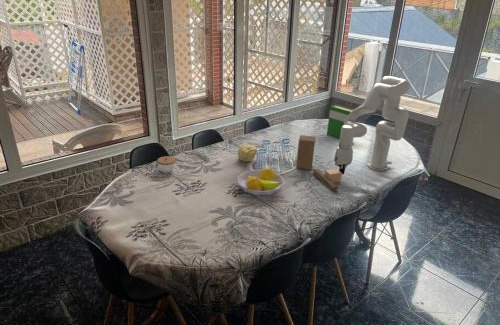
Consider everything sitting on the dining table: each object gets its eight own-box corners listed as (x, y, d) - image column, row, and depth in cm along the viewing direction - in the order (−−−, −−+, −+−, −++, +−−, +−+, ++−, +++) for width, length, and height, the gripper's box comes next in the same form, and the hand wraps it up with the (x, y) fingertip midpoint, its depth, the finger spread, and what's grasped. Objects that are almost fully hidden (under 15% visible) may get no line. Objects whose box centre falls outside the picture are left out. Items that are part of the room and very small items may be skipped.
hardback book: (350, 139, 288) (355, 109, 278) (345, 141, 284) (349, 111, 274) (332, 133, 300) (336, 104, 290) (326, 134, 295) (330, 106, 285)
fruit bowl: (230, 182, 215) (230, 165, 210) (271, 175, 225) (272, 159, 220) (248, 206, 192) (249, 187, 187) (293, 197, 202) (295, 179, 197)
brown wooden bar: (318, 173, 231) (318, 168, 230) (337, 191, 211) (338, 186, 209) (313, 173, 230) (314, 169, 229) (332, 191, 210) (333, 187, 208)
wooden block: (311, 170, 234) (314, 141, 226) (295, 168, 236) (298, 139, 227) (312, 164, 243) (315, 136, 235) (297, 162, 245) (300, 134, 236)
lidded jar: (179, 171, 226) (178, 157, 222) (164, 176, 218) (163, 162, 214) (169, 165, 232) (168, 152, 228) (154, 170, 225) (153, 157, 221)
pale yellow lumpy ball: (245, 165, 237) (246, 150, 233) (234, 159, 245) (234, 144, 241) (258, 160, 244) (259, 146, 240) (247, 155, 252) (247, 140, 248)
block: (335, 177, 227) (336, 168, 224) (340, 181, 221) (342, 173, 219) (324, 178, 224) (325, 170, 222) (328, 183, 219) (330, 174, 217)
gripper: (353, 142, 220) (348, 169, 228) (331, 144, 216) (327, 172, 224) (360, 146, 214) (355, 174, 222) (337, 149, 210) (333, 177, 218)
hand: (341, 173), depth 223 cm, fingers closed
